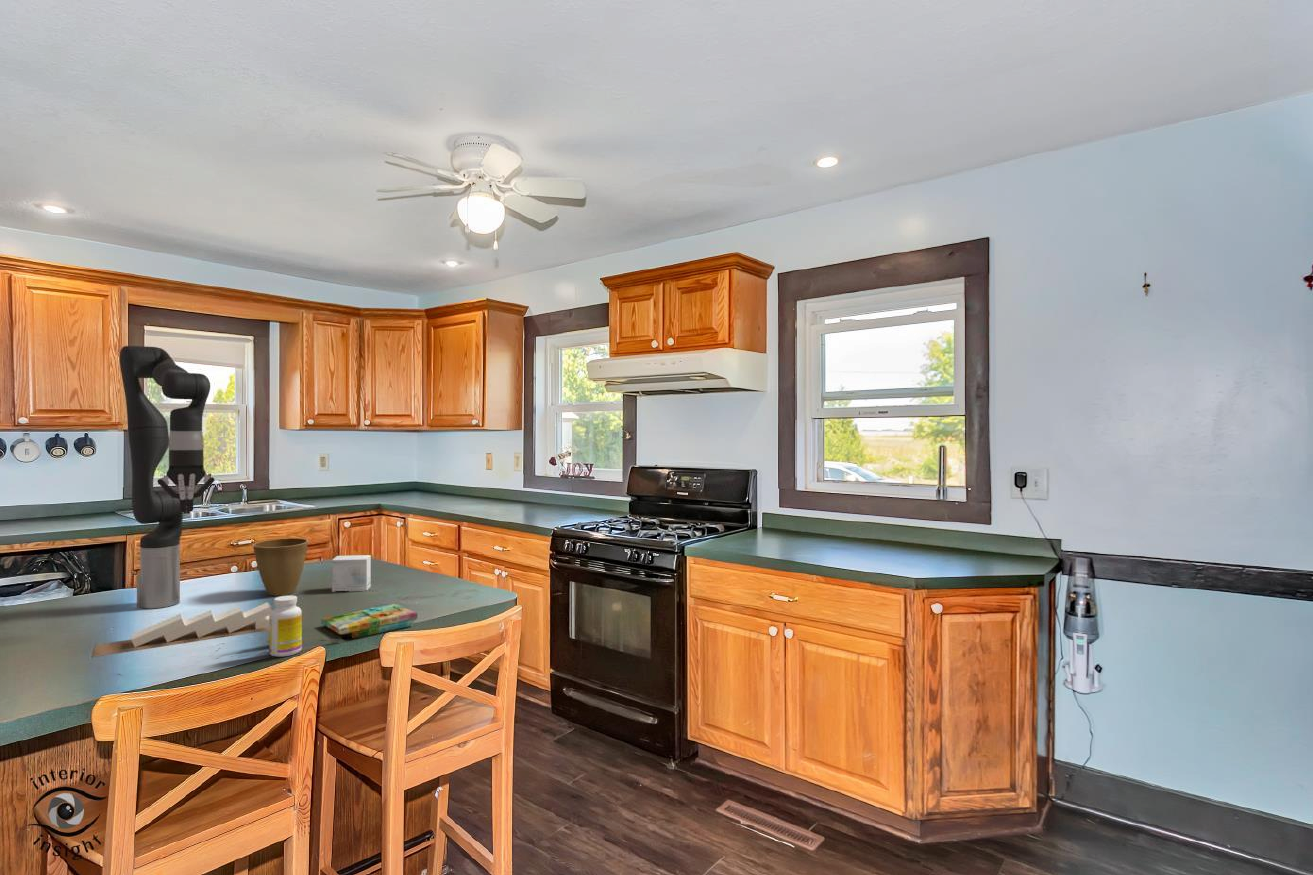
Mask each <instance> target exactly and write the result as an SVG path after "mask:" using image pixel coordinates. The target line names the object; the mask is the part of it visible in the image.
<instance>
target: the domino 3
mask: <svg viewBox="0 0 1313 875" xmlns="http://www.w3.org/2000/svg"><path fill="white" fill-rule="evenodd" d="M243 613H244V612H243V611H242V608H241V607H240V605H239V606H237V607H234V608H232V609H229V610H228V611H226V612H222V613H220V614H218V615H215V616H214V619H215V622H214V623H212V624H209V625H207V626H205V627H202V628H200V629H198V630H195V631H196V634H197V636H198V638H200V637H202V636H204V635H206V634H209V633H211V632H213V631H216V630H218V629H220V628H223V627H225V626H227V625H229V624H232V623H234V622H236V621H239V620H241V619H243V618H244V616H243Z"/></svg>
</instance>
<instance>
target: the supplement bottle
mask: <svg viewBox="0 0 1313 875" xmlns="http://www.w3.org/2000/svg"><path fill="white" fill-rule="evenodd" d="M297 602H298V596H296V595H282V596H276V597H275V598H273V604H274V609H271V610H272V611H271V612H270V614H269V630H268V631H269V632H268V633H269V635H268V636H269V637H268V640H269V641H268V642H269V643H268V645H269V648H268V650H269V655H271V656H272V657H279V658H281V657H289V656H293V655H296V654H298V653H300V652H301V650H302V648H303V641H302V640H303V634H302V633H303V631H302V630H303V629H302V628H303V625H302V624H303V623H302V620H303V615H302V614H303V613H302V612H303V611H302V609H301V608H300V607H299V606H297Z"/></svg>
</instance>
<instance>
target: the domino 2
mask: <svg viewBox="0 0 1313 875" xmlns="http://www.w3.org/2000/svg"><path fill="white" fill-rule="evenodd" d="M214 617H215V616H214V614H213V612H212V610H211V609H209V610H207V611H205V612H202V613H200V614H198V615H196V616H192V617H190V618H188V619H186V620H184V621H185V626H184V627H181V628H179V629H177V630H174V631H172V632H170V633H168V634H165V635H164V637H165V639H166V641H167V643H168V642H170V641H172V640H174V639H177V638H179V637H181V636H184V635H186V634H188V633H191V632H193V631H195V630H198V629H200V628H202V627H205V626H207V625H209V624H212V623H214V622H215V619H214Z"/></svg>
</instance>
